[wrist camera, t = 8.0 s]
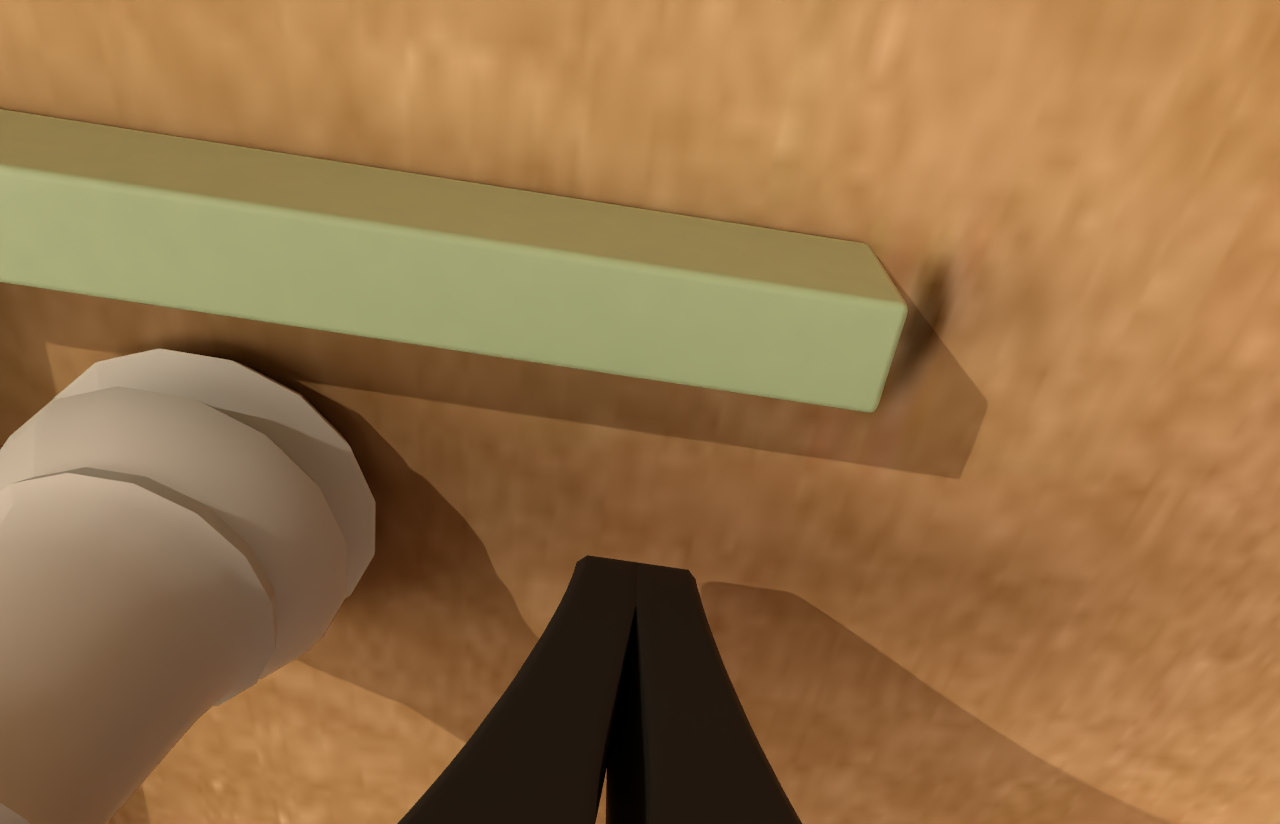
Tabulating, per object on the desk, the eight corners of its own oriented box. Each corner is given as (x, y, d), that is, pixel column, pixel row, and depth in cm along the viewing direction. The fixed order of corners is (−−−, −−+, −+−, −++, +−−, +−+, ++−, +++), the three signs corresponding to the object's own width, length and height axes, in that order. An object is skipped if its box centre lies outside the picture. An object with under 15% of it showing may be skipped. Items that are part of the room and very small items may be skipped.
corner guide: (669, 956, 16) (667, 1075, 15) (-6, 866, 16) (-90, 976, 14) (871, 241, 10) (913, 306, 8) (-306, 58, 9) (-538, 82, 7)
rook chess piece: (-8, 406, 11) (-1188, 1166, 4) (260, 278, 10) (-711, 1007, 3) (204, 640, 13) (-364, 1439, 6) (448, 552, 12) (111, 1396, 5)
